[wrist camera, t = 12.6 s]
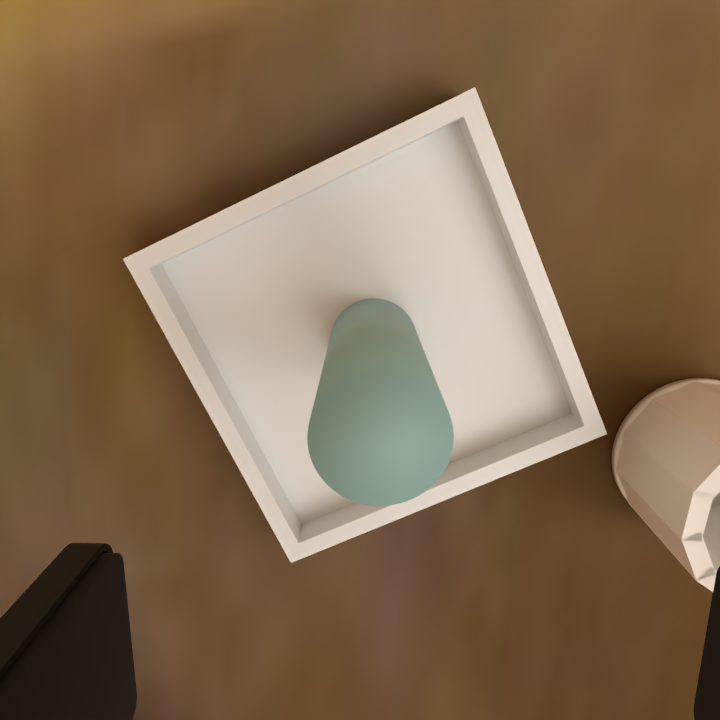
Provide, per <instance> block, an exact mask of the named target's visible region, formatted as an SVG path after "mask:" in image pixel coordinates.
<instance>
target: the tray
mask: <svg viewBox="0 0 720 720" xmlns="http://www.w3.org/2000/svg"><path fill="white" fill-rule="evenodd" d="M123 260H124V262H125V264H126V265H127V267H128V269H129V271H130V273H131V275H132V276H133V278H134V280H135V282H136V284H137V285H138V287H139V289H140V291H141V293H142V294H143V296H144V298H145V300H146V302H147V303H148V305H149V307H150V309H151V311H152V313H153V314H154V316H155V318H156V320H157V322H158V323H159V325H160V327H161V329H162V331H163V332H164V334H165V336H166V338H167V340H168V341H169V343H170V345H171V347H172V349H173V350H174V352H175V354H176V356H177V358H178V360H179V361H180V363H181V365H182V367H183V369H184V370H185V372H186V374H187V376H188V378H189V379H190V381H191V383H192V385H193V387H194V388H195V390H196V392H197V394H198V396H199V397H200V399H201V401H202V403H203V405H204V407H205V408H206V410H207V412H208V414H209V416H210V417H211V419H212V421H213V423H214V425H215V426H216V428H217V430H218V432H219V434H220V435H221V437H222V439H223V441H224V443H225V444H226V446H227V448H228V450H229V452H230V454H231V455H232V457H233V459H234V461H235V463H236V464H237V466H238V468H239V470H240V472H241V473H242V475H243V477H244V479H245V481H246V482H247V484H248V486H249V488H250V490H251V491H252V493H253V495H254V497H255V499H256V501H257V502H258V504H259V506H260V508H261V510H262V511H263V513H264V515H265V517H266V519H267V520H268V522H269V524H270V526H271V528H272V529H273V531H274V533H275V535H276V537H277V539H278V540H279V542H280V544H281V546H282V548H283V549H284V551H285V553H286V555H287V557H288V558H289V560H290V562H291V563H292V562H294V561H297V560H299V559H302V558H304V557H307V556H309V555H312V554H314V553H317V552H319V551H321V550H324V549H326V548H329V547H331V546H334V545H336V544H339V543H341V542H344V541H346V540H348V539H351V538H353V537H356V536H358V535H361V534H363V533H366V532H368V531H371V530H373V529H375V528H378V527H380V526H383V525H385V524H388V523H390V522H393V521H395V520H397V519H400V518H402V517H405V516H407V515H410V514H412V513H415V512H417V511H420V510H422V509H424V508H427V507H429V506H432V505H434V504H437V503H439V502H442V501H444V500H447V499H449V498H451V497H454V496H456V495H459V494H461V493H464V492H466V491H469V490H471V489H474V488H476V487H478V486H481V485H483V484H486V483H488V482H491V481H493V480H496V479H498V478H501V477H503V476H505V475H508V474H510V473H513V472H515V471H518V470H520V469H523V468H525V467H528V466H530V465H532V464H535V463H537V462H540V461H542V460H545V459H547V458H550V457H552V456H555V455H557V454H559V453H562V452H564V451H567V450H569V449H572V448H574V447H577V446H579V445H582V444H584V443H586V442H589V441H591V440H594V439H596V438H599V437H601V436H604V435H606V434H607V432H606V430H605V427H604V424H603V422H602V419H601V416H600V414H599V411H598V409H597V406H596V403H595V401H594V398H593V395H592V393H591V390H590V388H589V385H588V382H587V380H586V377H585V374H584V372H583V369H582V367H581V364H580V361H579V359H578V356H577V353H576V351H575V348H574V346H573V343H572V340H571V338H570V335H569V332H568V330H567V327H566V325H565V322H564V319H563V317H562V314H561V311H560V309H559V306H558V304H557V301H556V298H555V296H554V293H553V290H552V288H551V285H550V283H549V280H548V277H547V275H546V272H545V270H544V267H543V264H542V262H541V259H540V256H539V254H538V251H537V249H536V246H535V243H534V241H533V238H532V235H531V233H530V230H529V228H528V225H527V222H526V220H525V217H524V214H523V212H522V209H521V207H520V204H519V201H518V199H517V196H516V193H515V191H514V188H513V186H512V183H511V180H510V178H509V175H508V172H507V170H506V167H505V165H504V162H503V159H502V157H501V154H500V151H499V149H498V146H497V144H496V141H495V138H494V136H493V133H492V130H491V128H490V125H489V123H488V120H487V117H486V115H485V112H484V109H483V107H482V104H481V102H480V99H479V96H478V94H477V91H476V88H475V87H474V88H472V89H470V90H468V91H466V92H464V93H462V94H460V95H458V96H456V97H454V98H452V99H450V100H448V101H446V102H444V103H442V104H440V105H438V106H435V107H433V108H431V109H429V110H427V111H425V112H423V113H421V114H419V115H417V116H415V117H413V118H411V119H409V120H407V121H405V122H403V123H401V124H399V125H396V126H394V127H392V128H390V129H388V130H386V131H384V132H382V133H380V134H378V135H376V136H374V137H372V138H370V139H368V140H366V141H364V142H362V143H360V144H358V145H355V146H353V147H351V148H349V149H347V150H345V151H343V152H341V153H339V154H337V155H335V156H333V157H331V158H329V159H327V160H325V161H323V162H321V163H319V164H316V165H314V166H312V167H310V168H308V169H306V170H304V171H302V172H300V173H298V174H296V175H294V176H292V177H290V178H288V179H286V180H284V181H282V182H280V183H277V184H275V185H273V186H271V187H269V188H267V189H265V190H263V191H261V192H259V193H257V194H255V195H253V196H251V197H249V198H247V199H245V200H243V201H241V202H238V203H236V204H234V205H232V206H230V207H228V208H226V209H224V210H222V211H220V212H218V213H216V214H214V215H212V216H210V217H208V218H206V219H204V220H202V221H200V222H197V223H195V224H193V225H191V226H189V227H187V228H185V229H183V230H181V231H179V232H177V233H175V234H173V235H171V236H169V237H167V238H165V239H163V240H161V241H158V242H156V243H154V244H152V245H150V246H148V247H146V248H144V249H142V250H140V251H138V252H136V253H134V254H132V255H130V256H128V257H126V258H124V259H123ZM372 298H373V299H383V300H387V301H390V302H392V303H394V304H396V305H398V306H399V307H400V308H402V309H403V310H404V311H405V312H406V313H407V314H408V316H409V317H410V319H411V320H412V322H413V324H414V327H415V329H416V332H417V334H418V337H419V339H420V342H421V344H422V347H423V349H424V352H425V354H426V357H427V359H428V362H429V364H430V367H431V369H432V372H433V374H434V377H435V379H436V382H437V384H438V387H439V389H440V392H441V394H442V397H443V399H444V402H445V404H446V407H447V409H448V412H449V414H450V417H451V420H452V425H453V433H454V442H453V449H452V454H451V457H450V460H449V463H448V465H447V467H446V469H445V470H444V472H443V473H442V475H441V476H440V478H439V479H438V480H437V481H436V482H435V483H434V484H433V485H432V486H431V487H430V488H429V489H428V490H426V491H425V492H424V493H422V494H421V495H419V496H417V497H415V498H413V499H411V500H409V501H406V502H403V503H399V504H395V505H387V506H372V505H365V504H361V503H357V502H354V501H352V500H349V499H347V498H345V497H343V496H341V495H340V494H338V493H337V492H335V491H334V490H333V489H331V488H330V487H329V486H328V485H327V484H326V483H325V482H324V481H323V479H322V478H321V477H320V476H319V474H318V473H317V471H316V469H315V468H314V465H313V463H312V461H311V458H310V454H309V451H308V443H307V432H308V425H309V421H310V417H311V413H312V409H313V405H314V401H315V397H316V393H317V389H318V385H319V381H320V377H321V373H322V369H323V364H324V360H325V356H326V352H327V348H328V344H329V340H330V336H331V332H332V329H333V326H334V323H335V321H336V320H337V318H338V316H339V315H340V314H341V313H342V312H343V311H344V310H345V309H346V308H347V307H349V306H350V305H352V304H354V303H355V302H358V301H361V300H365V299H372Z"/></svg>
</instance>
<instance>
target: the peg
mask: <svg viewBox="0 0 720 720" xmlns="http://www.w3.org/2000/svg"><path fill="white" fill-rule="evenodd" d="M453 442H454V433H453V425H452V420H451V417H450V414H449V412H448V409H447V407H446V404H445V402H444V399H443V397H442V394H441V392H440V389H439V387H438V384H437V382H436V379H435V377H434V374H433V372H432V369H431V367H430V364H429V362H428V359H427V357H426V354H425V352H424V349H423V347H422V344H421V342H420V339H419V337H418V334H417V332H416V329H415V327H414V324H413V322H412V320H411V319H410V317H409V316H408V314H407V313H406V312H405V311H404V310H403V309H402V308H400V307H399V306H398V305H396V304H394V303H392V302H390V301H387V300H383V299H373V298H372V299H365V300H361V301H358V302H355V303H354V304H352V305H350V306H349V307H347V308H346V309H345V310H344V311H343V312H342V313H341V314H340V315H339V316H338V318H337V320H336V321H335V323H334V326H333V329H332V332H331V336H330V340H329V344H328V348H327V352H326V356H325V360H324V364H323V369H322V373H321V377H320V381H319V385H318V389H317V393H316V397H315V401H314V405H313V409H312V413H311V417H310V421H309V425H308V432H307V443H308V451H309V454H310V458H311V461H312V463H313V465H314V468H315V469H316V471H317V473H318V474H319V476H320V477H321V478H322V479H323V481H324V482H325V483H326V484H327V485H328V486H329V487H330V488H331V489H333V490H334V491H335V492H337V493H338V494H340V495H341V496H343V497H345V498H347V499H349V500H352V501H354V502H357V503H361V504H365V505H372V506H387V505H395V504H399V503H403V502H406V501H409V500H411V499H413V498H415V497H417V496H419V495H421V494H422V493H424V492H425V491H426V490H428V489H429V488H430V487H431V486H432V485H433V484H434V483H435V482H436V481H437V480H438V479H439V478H440V476H441V475H442V473H443V472H444V470H445V469H446V467H447V465H448V463H449V460H450V457H451V454H452V449H453Z"/></svg>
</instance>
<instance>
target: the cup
mask: <svg viewBox="0 0 720 720" xmlns="http://www.w3.org/2000/svg"><path fill="white" fill-rule="evenodd" d="M612 471H613V476H614V479H615V482H616V484H617V486H618V488H619V490H620V492H621V493H622V495H623V496H624V498H625V499H626V500H627V501H628V503H629V505H630V506H631V507H632V508H633V509H634V510H635V512H636V513H637V514H638V515H639V516H640V517H641V518H642V520H643V521H644V522H645V523H646V524H647V525H648V526H649V528H650V529H651V530H652V531H653V532H654V533H655V534H656V536H657V537H658V538H659V539H660V540H661V541H662V542H663V544H664V545H665V546H666V547H667V548H668V549H669V550H670V552H671V553H672V554H673V555H674V556H675V557H676V558H677V560H678V561H679V562H680V563H681V564H682V565H683V566H684V568H685V569H686V570H687V571H688V572H689V573H690V574H691V576H692V577H693V578H694V579H695V580H696V581H697V582H699V583H700V584H702V585H703V586H705V587H706V588H708V589H709V590H710V591H712V592H713V590H714V584H715V578H716V573H717V570H718V568H719V567H720V380H718V379H712V378H690V379H684V380H679V381H675V382H672V383H670V384H667V385H665V386H662V387H660V388H658V389H656V390H655V391H653V392H652V393H650V394H648V395H647V396H646V397H644V398H643V399H642V400H641V401H639V402H638V403H637V404H636V405H635V406H634V407H633V408H632V409H631V411H630V412H629V413H628V415H627V416H626V417H625V419H624V420H623V422H622V424H621V425H620V427H619V429H618V432H617V434H616V436H615V440H614V443H613V448H612Z"/></svg>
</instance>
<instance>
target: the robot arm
mask: <svg viewBox="0 0 720 720" xmlns="http://www.w3.org/2000/svg"><path fill="white" fill-rule="evenodd" d="M136 700H137V692H136V682H135V672H134V662H133V652H132V642H131V633H130V623H129V613H128V603H127V593H126V583H125V573H124V564H123V558H122V556H121V554H119V553H113V551H112V548H111V546H110V545H108V544H102V543H71V544H69V545H68V546H66V547H65V548H64V549H63V550H62V552H61V553H60V554H59V555H58V556H57V557H56V558H55V559H54V560H53V561H52V563H51V564H50V565H49V566H48V567H47V568H46V569H45V570H44V571H43V572H42V573H41V575H40V576H39V577H38V578H37V579H36V580H35V581H34V582H33V583H32V584H31V586H30V587H29V588H28V589H27V590H26V591H25V592H24V593H23V594H22V595H21V597H20V598H19V599H18V600H17V601H16V602H15V603H14V604H13V605H12V606H11V607H10V609H9V610H8V611H7V612H6V613H5V614H4V615H3V616H2V617H1V618H0V720H132V719H133V716H134V712H135V708H136ZM694 718H695V720H720V567H719V568H718V570H717V573H716V578H715V584H714V590H713V596H712V602H711V608H710V614H709V620H708V626H707V632H706V638H705V643H704V649H703V655H702V661H701V667H700V673H699V679H698V685H697V691H696V697H695V703H694Z"/></svg>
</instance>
